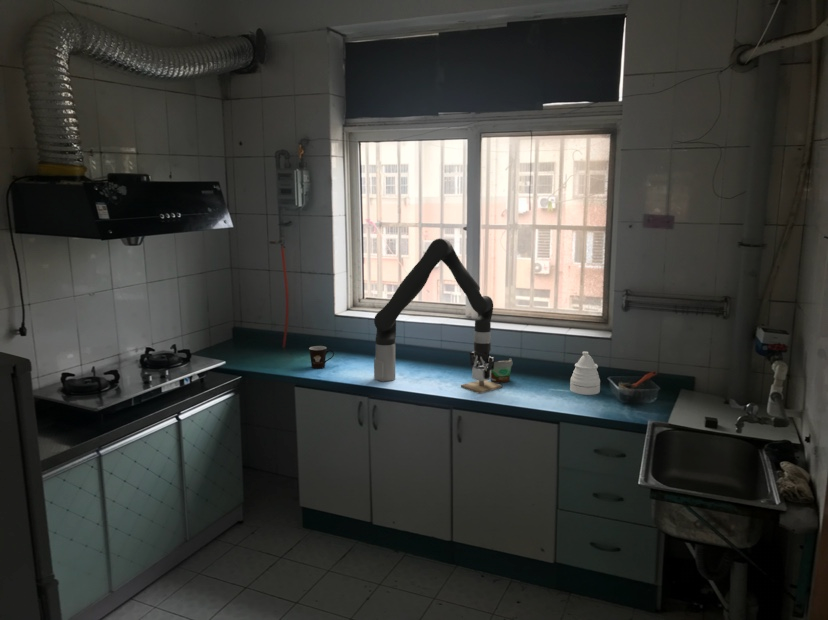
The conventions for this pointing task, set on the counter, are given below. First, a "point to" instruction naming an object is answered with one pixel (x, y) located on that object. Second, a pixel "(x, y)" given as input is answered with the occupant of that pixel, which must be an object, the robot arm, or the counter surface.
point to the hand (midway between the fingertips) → (481, 376)
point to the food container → (501, 371)
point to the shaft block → (481, 386)
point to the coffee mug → (318, 356)
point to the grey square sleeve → (479, 373)
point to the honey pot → (585, 376)
